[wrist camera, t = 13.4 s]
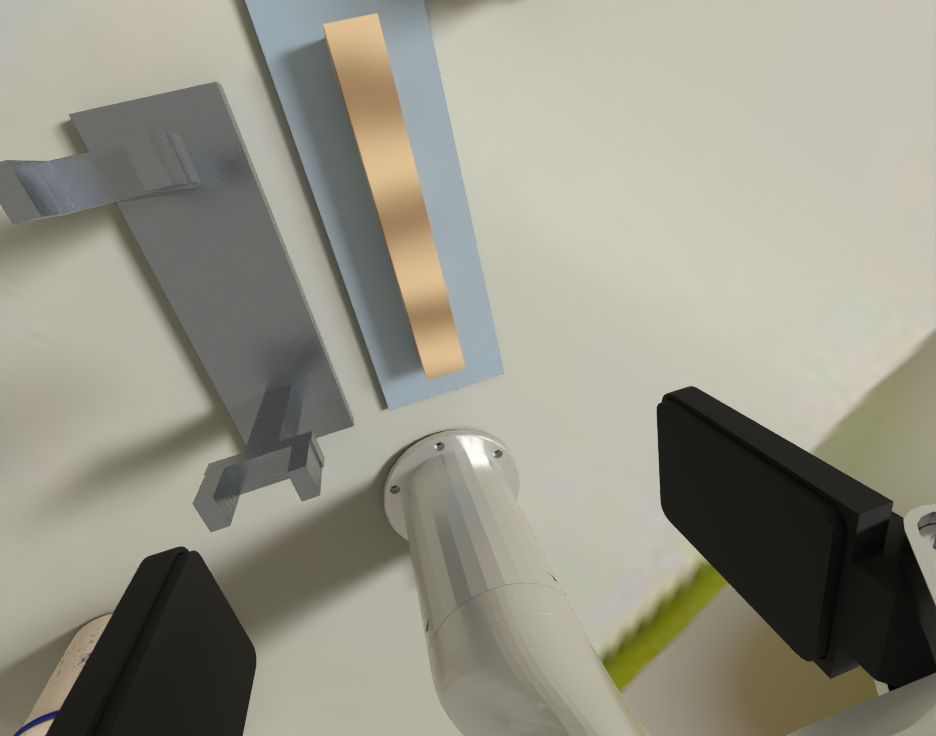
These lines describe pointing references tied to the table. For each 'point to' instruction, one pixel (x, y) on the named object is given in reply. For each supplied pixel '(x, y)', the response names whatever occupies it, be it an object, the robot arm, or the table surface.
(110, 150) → the stand
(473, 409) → the table surface
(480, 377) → the slate mat
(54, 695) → the teacup with lid
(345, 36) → the oak rail
